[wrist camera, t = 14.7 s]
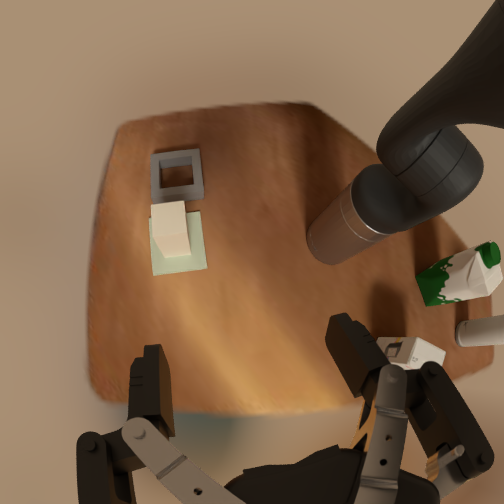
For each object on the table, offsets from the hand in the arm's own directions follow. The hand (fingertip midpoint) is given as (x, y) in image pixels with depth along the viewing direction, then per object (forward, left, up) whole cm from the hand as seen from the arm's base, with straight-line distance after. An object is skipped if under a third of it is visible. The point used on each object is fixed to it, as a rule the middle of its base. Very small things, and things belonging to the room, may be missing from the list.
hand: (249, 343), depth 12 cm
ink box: (-30, +12, -33) cm, 46 cm away
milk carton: (-45, +1, -33) cm, 56 cm away
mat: (+5, -15, -32) cm, 36 cm away
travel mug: (-54, +15, -33) cm, 65 cm away
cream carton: (+5, -15, -32) cm, 36 cm away
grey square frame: (+4, -27, -32) cm, 43 cm away
